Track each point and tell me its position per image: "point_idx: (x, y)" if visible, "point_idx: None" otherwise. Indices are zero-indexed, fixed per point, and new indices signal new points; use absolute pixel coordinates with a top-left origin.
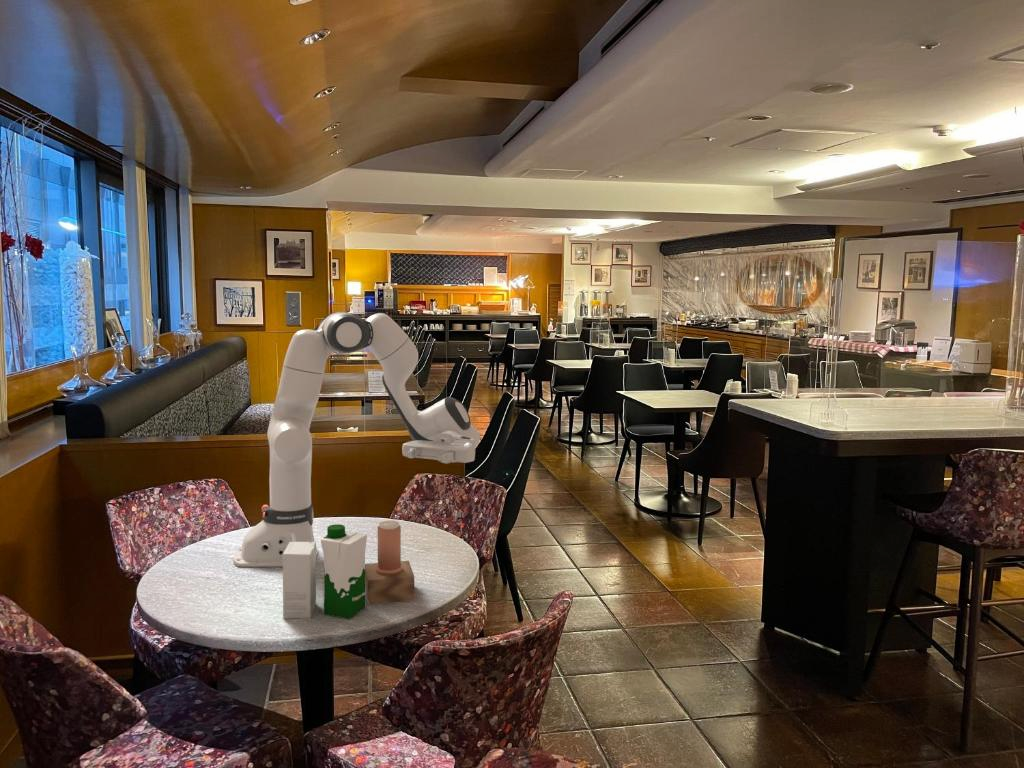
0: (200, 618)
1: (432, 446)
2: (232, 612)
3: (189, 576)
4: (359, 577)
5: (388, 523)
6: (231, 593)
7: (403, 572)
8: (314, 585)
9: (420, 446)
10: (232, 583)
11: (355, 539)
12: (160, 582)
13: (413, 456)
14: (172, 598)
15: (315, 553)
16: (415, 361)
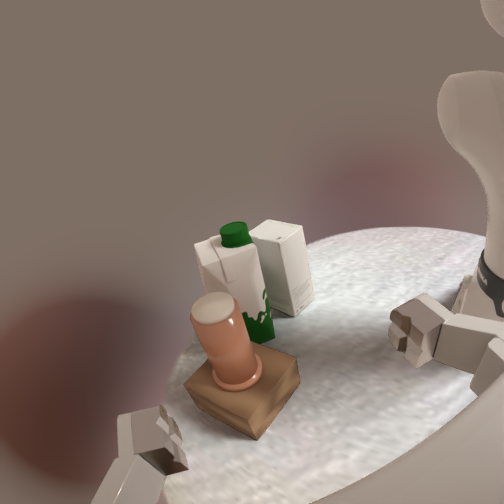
0: (337, 246)
1: (402, 482)
2: (333, 262)
3: (451, 248)
4: None
5: (214, 305)
6: (384, 267)
7: (210, 382)
8: (271, 285)
9: (494, 381)
10: (414, 271)
11: (201, 251)
12: (442, 234)
13: (406, 348)
14: (398, 237)
15: (273, 254)
16: None
